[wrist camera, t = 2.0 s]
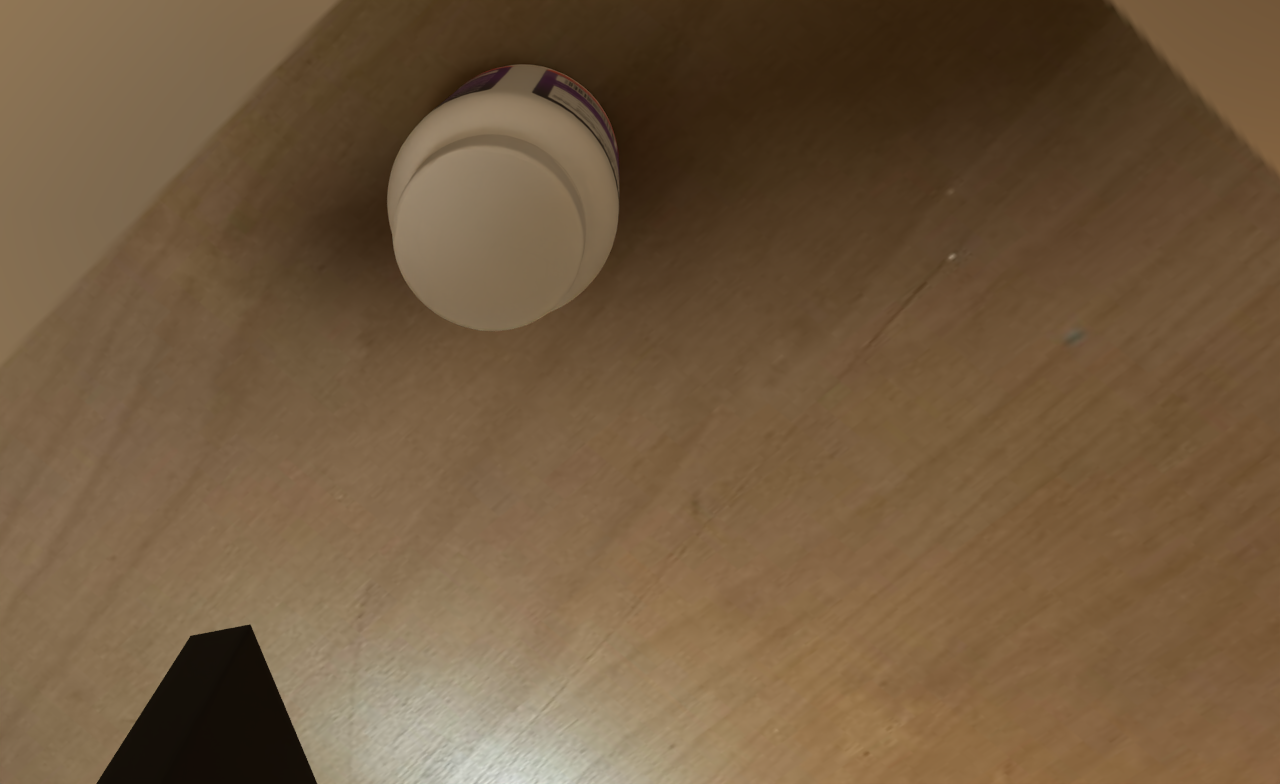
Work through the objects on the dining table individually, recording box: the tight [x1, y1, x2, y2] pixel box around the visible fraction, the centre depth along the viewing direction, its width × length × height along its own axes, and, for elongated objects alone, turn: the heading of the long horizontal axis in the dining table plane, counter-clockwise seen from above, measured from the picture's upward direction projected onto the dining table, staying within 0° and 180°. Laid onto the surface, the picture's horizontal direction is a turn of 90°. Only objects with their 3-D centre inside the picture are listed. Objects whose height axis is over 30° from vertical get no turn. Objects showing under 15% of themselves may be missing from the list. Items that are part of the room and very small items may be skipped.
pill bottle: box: [387, 64, 619, 331], centre depth 26 cm, size 5×5×10 cm
